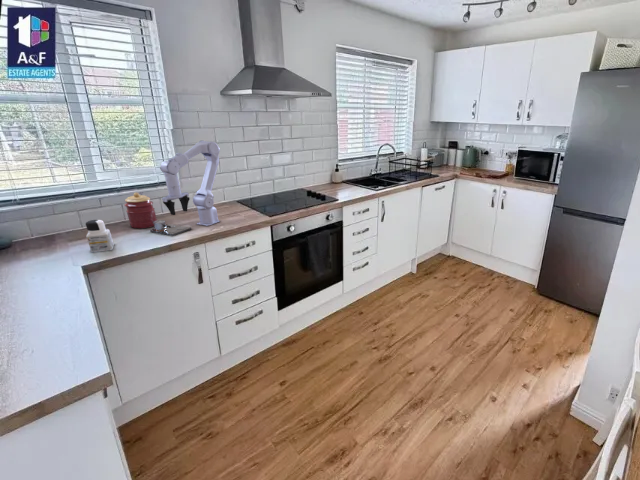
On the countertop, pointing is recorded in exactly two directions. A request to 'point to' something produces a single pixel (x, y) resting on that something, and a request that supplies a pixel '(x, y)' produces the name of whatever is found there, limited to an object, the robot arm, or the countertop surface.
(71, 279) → the countertop surface
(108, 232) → the container
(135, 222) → the kitchen canister
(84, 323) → the countertop surface
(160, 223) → the wok
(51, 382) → the countertop surface
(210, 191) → the robot arm
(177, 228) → the dark grey flat slab
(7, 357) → the countertop surface
